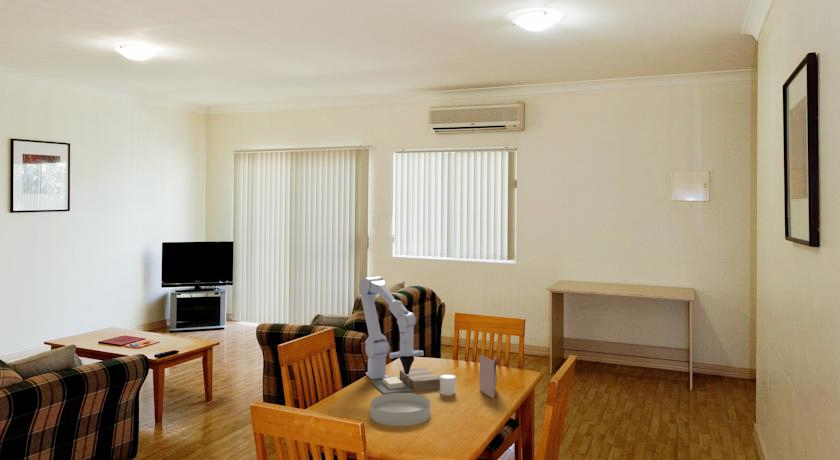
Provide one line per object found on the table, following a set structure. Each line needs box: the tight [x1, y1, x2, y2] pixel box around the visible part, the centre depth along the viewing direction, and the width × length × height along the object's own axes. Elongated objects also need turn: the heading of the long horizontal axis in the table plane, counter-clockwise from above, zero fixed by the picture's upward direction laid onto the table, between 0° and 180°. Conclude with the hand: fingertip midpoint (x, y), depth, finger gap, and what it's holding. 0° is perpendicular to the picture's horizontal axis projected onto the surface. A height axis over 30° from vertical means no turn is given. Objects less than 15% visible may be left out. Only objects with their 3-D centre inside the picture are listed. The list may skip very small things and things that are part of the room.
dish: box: [369, 392, 432, 427], centre depth 222 cm, size 22×22×5 cm
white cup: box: [438, 373, 457, 396], centre depth 247 cm, size 7×7×7 cm
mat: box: [370, 377, 414, 395], centre depth 255 cm, size 18×12×1 cm
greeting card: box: [478, 354, 498, 399], centre depth 246 cm, size 11×7×15 cm, turn 168°
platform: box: [399, 367, 440, 392], centre depth 259 cm, size 18×12×4 cm, turn 21°
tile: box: [382, 376, 403, 389], centre depth 255 cm, size 9×6×2 cm, turn 21°
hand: (406, 373), depth 257 cm, fingers closed
